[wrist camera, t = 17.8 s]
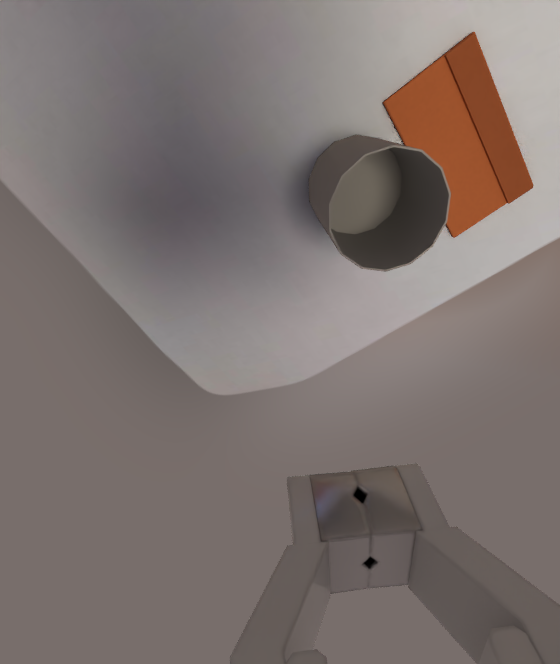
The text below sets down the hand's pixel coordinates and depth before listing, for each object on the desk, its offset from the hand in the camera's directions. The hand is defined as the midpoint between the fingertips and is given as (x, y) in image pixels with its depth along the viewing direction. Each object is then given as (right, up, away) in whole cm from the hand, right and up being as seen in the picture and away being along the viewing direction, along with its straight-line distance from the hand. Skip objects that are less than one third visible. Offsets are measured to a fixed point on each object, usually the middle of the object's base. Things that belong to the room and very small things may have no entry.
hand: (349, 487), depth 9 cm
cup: (+5, +17, +27) cm, 32 cm away
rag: (+14, +20, +26) cm, 35 cm away
